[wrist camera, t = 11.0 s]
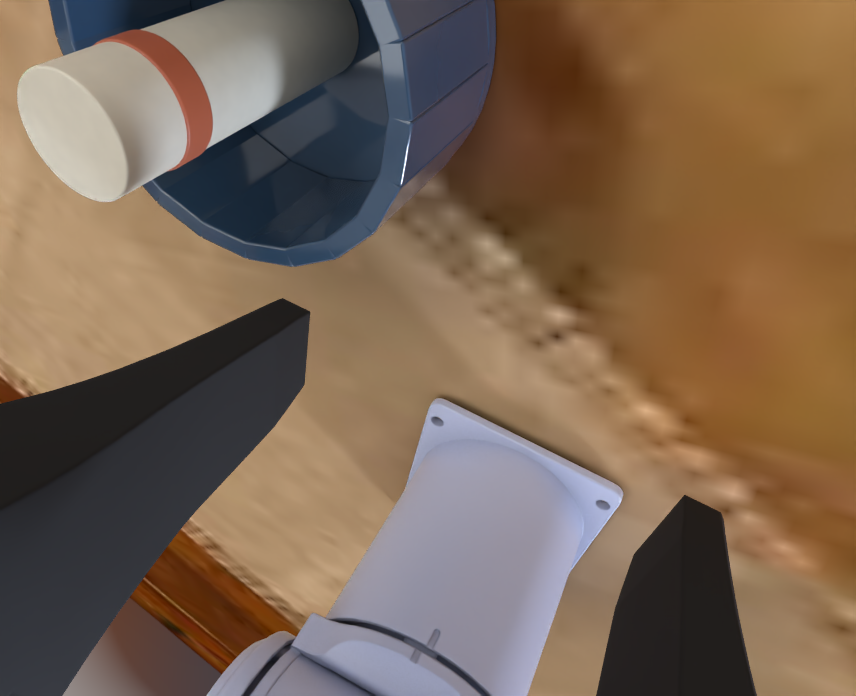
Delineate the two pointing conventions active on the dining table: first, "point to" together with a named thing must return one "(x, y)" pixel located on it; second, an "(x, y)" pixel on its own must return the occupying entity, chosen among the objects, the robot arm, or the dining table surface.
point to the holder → (324, 128)
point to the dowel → (178, 88)
